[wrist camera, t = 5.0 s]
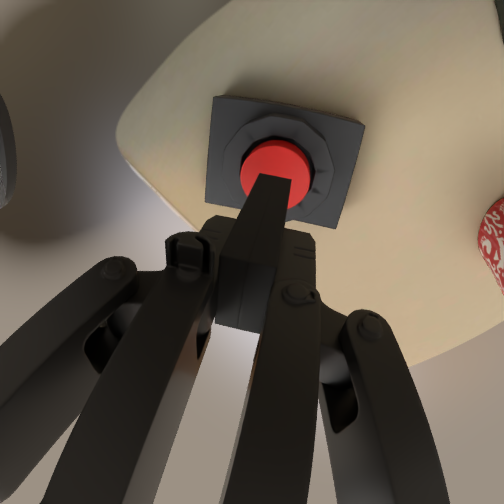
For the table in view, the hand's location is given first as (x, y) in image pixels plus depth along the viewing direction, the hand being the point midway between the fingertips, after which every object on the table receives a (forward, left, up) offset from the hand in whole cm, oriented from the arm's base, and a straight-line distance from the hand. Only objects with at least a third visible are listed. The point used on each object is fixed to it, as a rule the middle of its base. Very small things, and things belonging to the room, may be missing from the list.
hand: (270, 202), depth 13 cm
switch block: (0, 0, -8) cm, 8 cm away
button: (0, 0, -5) cm, 5 cm away
